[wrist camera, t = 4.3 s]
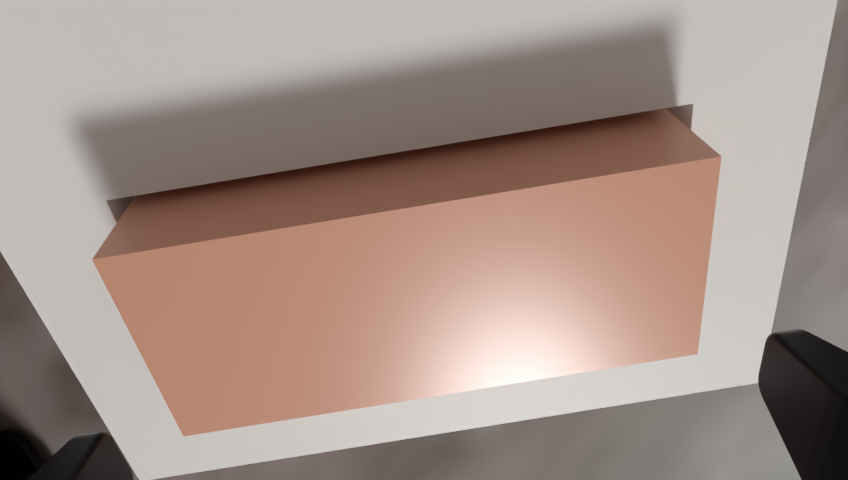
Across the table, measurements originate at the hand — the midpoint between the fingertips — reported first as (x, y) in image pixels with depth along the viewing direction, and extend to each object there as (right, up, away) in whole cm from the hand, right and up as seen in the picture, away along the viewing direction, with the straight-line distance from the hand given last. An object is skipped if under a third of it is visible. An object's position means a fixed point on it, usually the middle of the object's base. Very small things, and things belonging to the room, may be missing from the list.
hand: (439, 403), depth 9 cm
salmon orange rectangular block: (-1, +3, +8) cm, 8 cm away
